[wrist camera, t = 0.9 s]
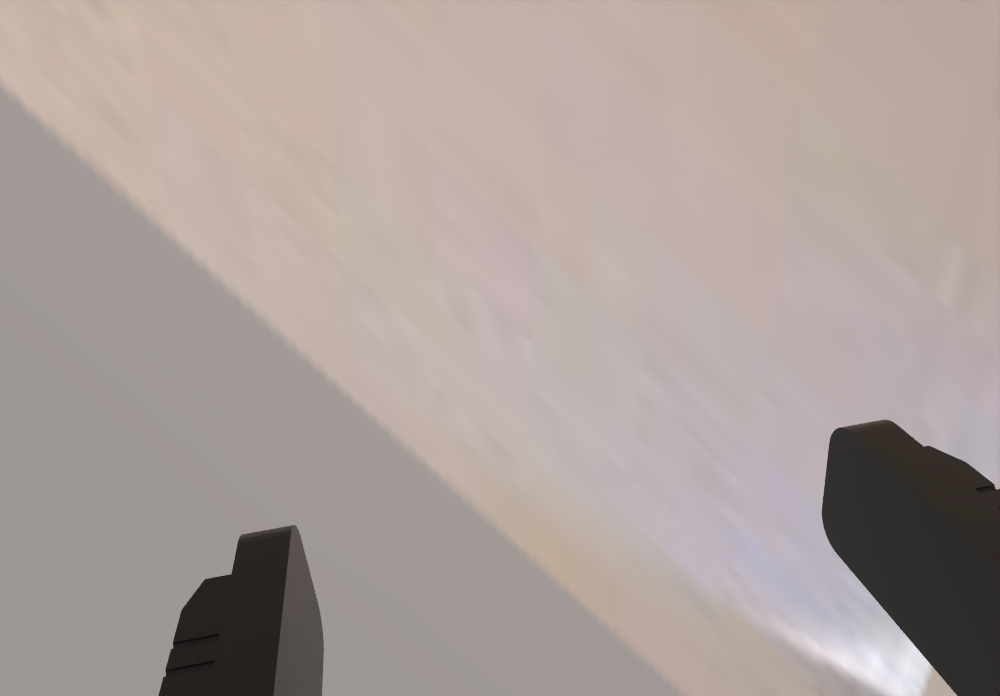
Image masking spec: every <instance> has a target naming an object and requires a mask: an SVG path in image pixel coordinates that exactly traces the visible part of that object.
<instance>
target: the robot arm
mask: <svg viewBox="0 0 1000 696" xmlns="http://www.w3.org/2000/svg"><path fill="white" fill-rule="evenodd" d="M822 520H823V525H824V529H825V532H826V535H827V538H828V540H829V542H830V544H831V546H832V547H833V549H834V550H835V552H836V553H837V554H838V555H839V557H840V558H841V559H842V560H843V561H844V563H845V564H846V565H847V566H848V567H849V568H850V570H851V571H852V572H853V573H854V574H855V576H856V577H857V578H858V579H859V580H860V581H861V583H862V584H863V585H864V586H865V587H866V588H867V590H868V591H869V592H870V593H871V594H872V596H873V597H874V598H875V599H876V600H877V601H878V603H879V604H880V605H881V606H882V607H883V609H884V610H885V611H886V612H887V613H888V614H889V616H890V617H891V618H892V619H893V620H894V621H895V623H896V624H897V625H898V626H899V627H900V629H901V630H902V631H903V632H904V633H905V634H906V636H907V637H908V638H909V639H910V640H911V642H912V643H913V644H914V645H915V646H916V647H917V649H918V650H919V651H920V652H921V653H922V654H923V656H924V657H925V658H926V659H927V660H928V662H929V663H930V664H931V665H932V666H933V667H934V669H935V670H936V671H937V672H938V673H939V675H940V676H941V677H942V678H943V679H944V680H945V682H946V683H947V684H948V685H949V686H950V687H951V689H952V690H953V691H954V692H955V693H956V694H957V695H958V696H1000V489H998V490H996V489H995V486H994V484H993V483H992V482H990V481H989V480H988V479H987V478H985V477H984V476H983V475H982V474H980V473H979V472H978V471H976V470H975V469H974V468H973V467H971V466H970V465H969V464H967V463H966V462H964V461H962V460H960V459H957V458H955V457H953V456H951V455H948V454H946V453H944V452H942V451H940V450H937V449H935V448H933V447H931V446H925V447H923V446H922V445H921V444H920V443H919V442H917V441H916V440H915V439H914V438H912V437H911V436H910V435H909V434H907V433H906V432H905V431H904V430H903V429H901V428H900V427H899V426H898V425H896V424H895V423H893V422H892V421H889V420H880V421H874V422H869V423H863V424H858V425H852V426H847V427H841V428H838V429H836V430H835V431H834V432H833V433H832V435H831V438H830V443H829V451H828V460H827V469H826V478H825V487H824V496H823V505H822ZM173 646H174V647H173V649H171V652H170V655H169V659H168V663H167V667H166V677H164V678H163V681H162V685H161V689H160V692H159V696H322V678H323V677H322V676H323V652H324V648H323V647H324V646H323V631H322V622H321V616H320V610H319V606H318V602H317V598H316V594H315V590H314V587H313V583H312V579H311V575H310V571H309V567H308V563H307V560H306V556H305V552H304V548H303V544H302V540H301V537H300V534H299V531H298V529H297V527H296V526H295V525H293V526H287V527H281V528H276V529H270V530H264V531H259V532H253V533H248V534H243V535H241V536H240V538H239V541H238V545H237V550H236V555H235V561H234V565H233V570H232V574H231V575H226V576H220V577H215V578H209V579H205V580H204V581H203V583H202V584H201V585H200V587H199V588H198V589H197V591H196V592H195V593H194V595H193V596H192V597H191V598H190V600H189V601H188V602H187V604H186V605H185V606H184V608H183V609H182V611H181V615H180V618H179V622H178V626H177V629H176V633H175V637H174V641H173Z"/></svg>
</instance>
